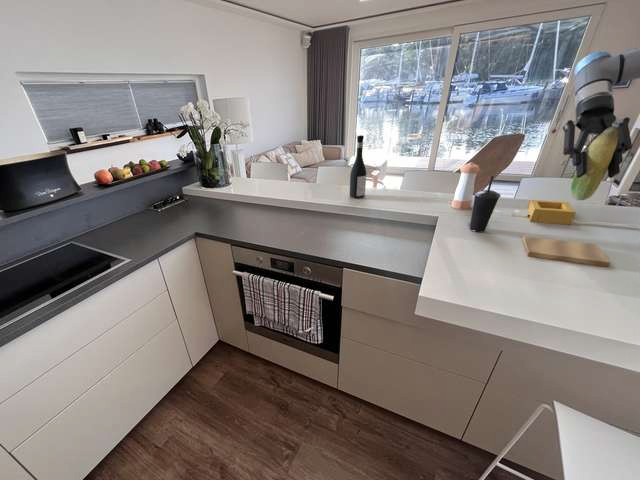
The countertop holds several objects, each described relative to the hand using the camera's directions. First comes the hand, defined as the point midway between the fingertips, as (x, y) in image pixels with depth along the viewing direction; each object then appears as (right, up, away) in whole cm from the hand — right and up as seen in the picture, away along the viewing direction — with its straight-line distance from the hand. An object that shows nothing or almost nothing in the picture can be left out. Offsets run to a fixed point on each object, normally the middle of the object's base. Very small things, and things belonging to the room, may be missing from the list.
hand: (597, 175), depth 78 cm
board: (+1, -21, +11) cm, 23 cm away
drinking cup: (-13, -12, +29) cm, 34 cm away
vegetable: (+2, -6, +7) cm, 9 cm away
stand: (+17, -6, +33) cm, 38 cm away
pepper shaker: (-6, +1, +50) cm, 51 cm away
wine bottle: (-46, +12, +75) cm, 88 cm away
